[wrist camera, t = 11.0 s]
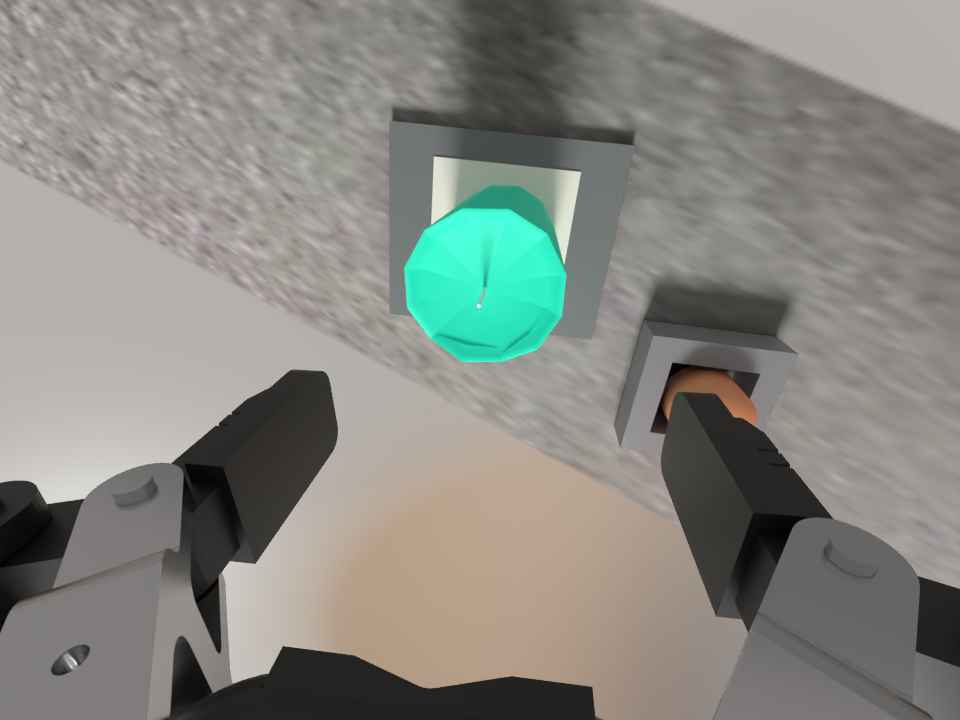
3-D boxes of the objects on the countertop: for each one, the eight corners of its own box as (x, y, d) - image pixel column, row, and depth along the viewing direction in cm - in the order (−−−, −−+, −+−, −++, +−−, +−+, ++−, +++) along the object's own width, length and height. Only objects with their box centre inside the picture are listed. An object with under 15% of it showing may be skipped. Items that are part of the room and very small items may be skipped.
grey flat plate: (632, 145, 23) (635, 145, 22) (590, 336, 28) (591, 340, 27) (392, 121, 24) (389, 120, 23) (392, 310, 29) (389, 314, 28)
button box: (776, 336, 26) (798, 354, 24) (730, 442, 30) (746, 465, 28) (643, 320, 27) (653, 335, 25) (614, 425, 30) (620, 447, 28)
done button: (745, 369, 26) (770, 395, 23) (721, 429, 28) (740, 459, 25) (671, 360, 26) (686, 384, 24) (652, 420, 28) (664, 448, 26)
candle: (439, 198, 24) (365, 235, 14) (545, 171, 23) (554, 189, 13) (466, 298, 27) (420, 396, 16) (562, 278, 26) (583, 370, 15)
